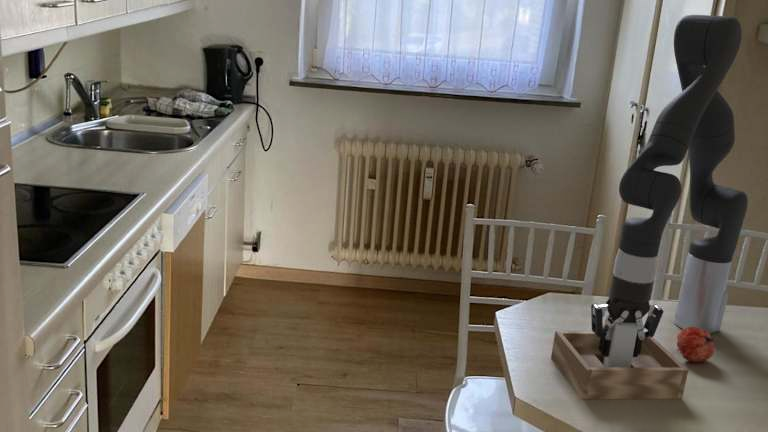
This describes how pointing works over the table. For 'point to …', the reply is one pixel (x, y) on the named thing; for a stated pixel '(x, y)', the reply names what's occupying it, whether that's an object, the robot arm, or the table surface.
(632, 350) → the skincare box
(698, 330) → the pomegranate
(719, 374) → the table surface
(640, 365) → the crate
